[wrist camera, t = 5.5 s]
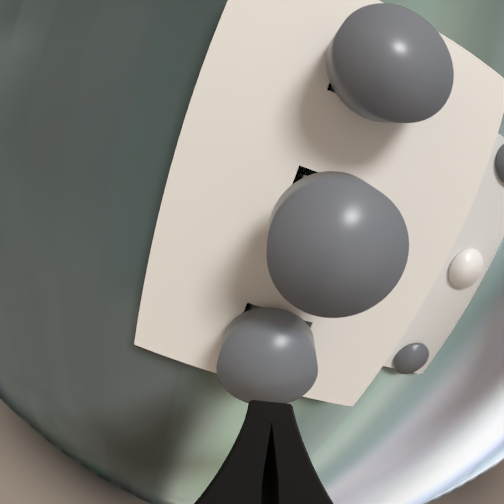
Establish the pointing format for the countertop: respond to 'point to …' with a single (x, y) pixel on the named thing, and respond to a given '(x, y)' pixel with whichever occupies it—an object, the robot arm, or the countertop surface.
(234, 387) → the button
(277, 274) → the button
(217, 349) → the board
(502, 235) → the card
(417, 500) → the countertop surface
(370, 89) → the button
